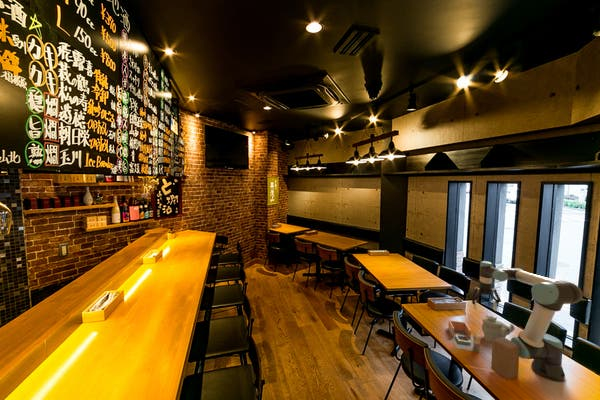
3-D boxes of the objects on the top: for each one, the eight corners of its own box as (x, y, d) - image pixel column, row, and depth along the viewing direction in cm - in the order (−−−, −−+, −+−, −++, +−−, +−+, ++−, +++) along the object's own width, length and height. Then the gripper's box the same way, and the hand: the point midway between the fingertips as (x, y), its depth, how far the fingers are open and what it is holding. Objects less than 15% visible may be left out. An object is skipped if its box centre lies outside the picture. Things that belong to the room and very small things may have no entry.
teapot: (514, 344, 187) (515, 320, 185) (503, 350, 180) (504, 325, 179) (489, 333, 201) (490, 310, 200) (478, 338, 195) (479, 314, 194)
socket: (470, 344, 185) (470, 342, 185) (458, 343, 187) (458, 340, 187) (466, 338, 193) (467, 336, 193) (454, 336, 195) (455, 334, 195)
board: (482, 353, 177) (482, 352, 177) (456, 349, 182) (456, 348, 182) (468, 332, 203) (468, 330, 203) (446, 328, 207) (446, 327, 207)
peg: (481, 351, 178) (481, 337, 177) (474, 350, 179) (475, 336, 179) (478, 347, 182) (479, 334, 181) (472, 346, 183) (472, 333, 182)
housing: (470, 339, 191) (470, 330, 190) (452, 337, 194) (452, 328, 194) (465, 330, 202) (465, 322, 202) (448, 328, 206) (448, 320, 205)
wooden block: (506, 380, 153) (508, 348, 152) (490, 368, 162) (491, 338, 161) (518, 377, 156) (520, 345, 154) (502, 365, 165) (503, 336, 164)
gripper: (502, 281, 193) (501, 308, 194) (465, 279, 199) (464, 305, 200) (507, 285, 186) (506, 313, 187) (469, 282, 192) (468, 309, 193)
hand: (484, 309), depth 193 cm, fingers open, 13 cm apart
